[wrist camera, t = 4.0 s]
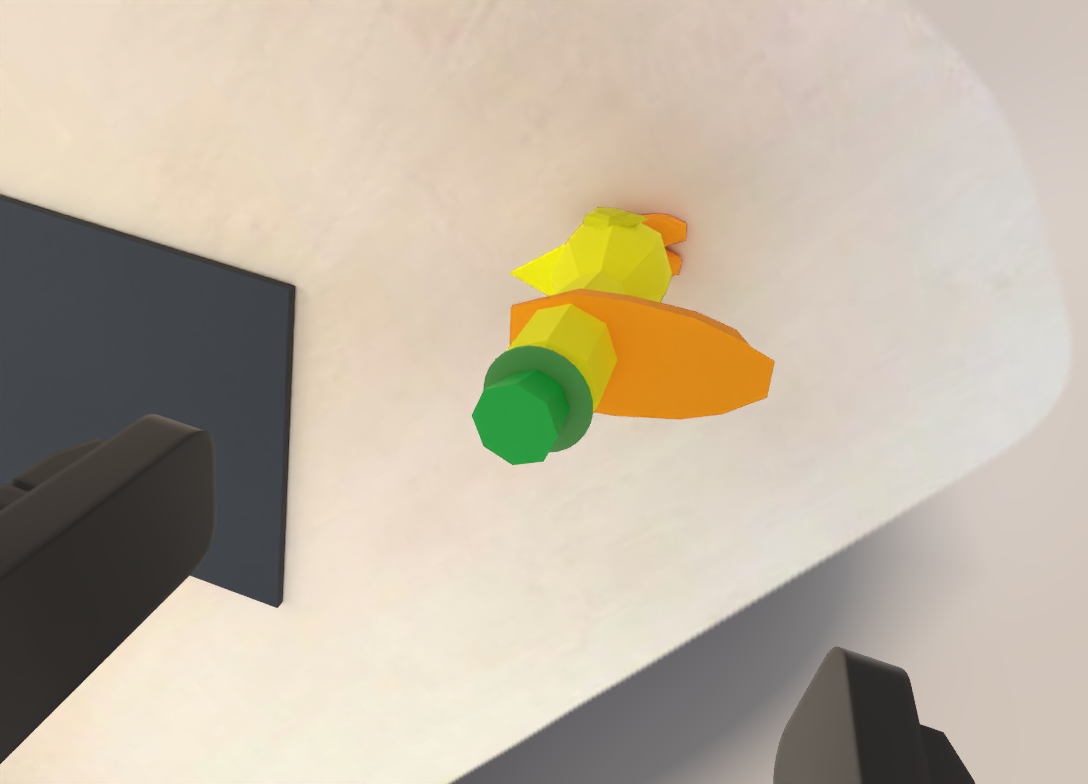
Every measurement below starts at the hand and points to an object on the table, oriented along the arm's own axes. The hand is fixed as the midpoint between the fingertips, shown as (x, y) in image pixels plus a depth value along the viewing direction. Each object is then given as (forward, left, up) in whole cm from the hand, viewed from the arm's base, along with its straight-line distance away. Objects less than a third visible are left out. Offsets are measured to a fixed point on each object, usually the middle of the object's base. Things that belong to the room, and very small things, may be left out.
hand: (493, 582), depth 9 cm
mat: (+20, +13, -16) cm, 29 cm away
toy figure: (0, 0, -16) cm, 16 cm away
